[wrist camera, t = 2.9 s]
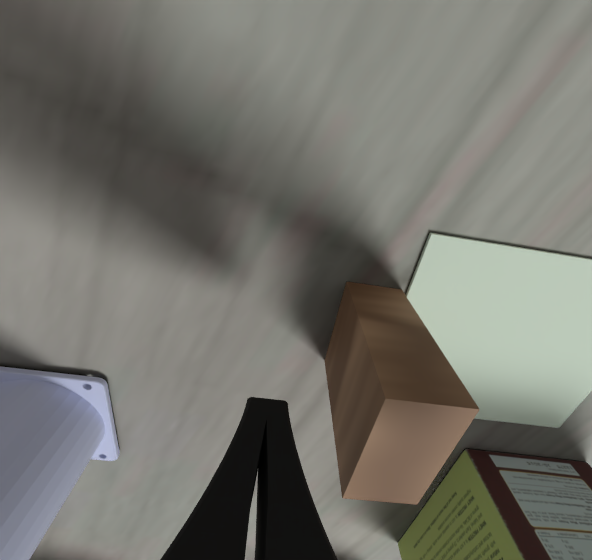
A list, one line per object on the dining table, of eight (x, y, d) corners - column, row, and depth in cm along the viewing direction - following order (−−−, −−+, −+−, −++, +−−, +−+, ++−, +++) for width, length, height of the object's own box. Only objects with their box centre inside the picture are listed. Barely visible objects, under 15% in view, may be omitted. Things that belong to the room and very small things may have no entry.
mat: (363, 403, 20) (363, 406, 20) (429, 232, 14) (431, 233, 14) (556, 425, 21) (558, 428, 21) (687, 274, 15) (691, 276, 15)
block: (324, 360, 18) (342, 498, 11) (346, 281, 16) (385, 398, 9) (372, 366, 18) (417, 504, 12) (401, 289, 16) (479, 409, 9)
